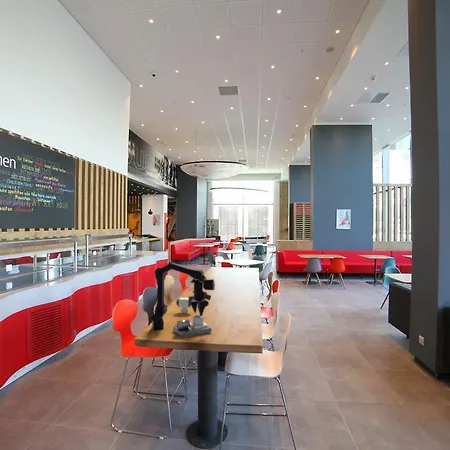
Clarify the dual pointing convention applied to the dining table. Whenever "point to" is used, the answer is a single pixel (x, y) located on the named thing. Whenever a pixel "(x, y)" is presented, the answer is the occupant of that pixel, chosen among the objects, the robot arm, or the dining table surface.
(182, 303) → the pneumatic valve
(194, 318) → the drain pump
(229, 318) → the dining table surface
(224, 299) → the dining table surface
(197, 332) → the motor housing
